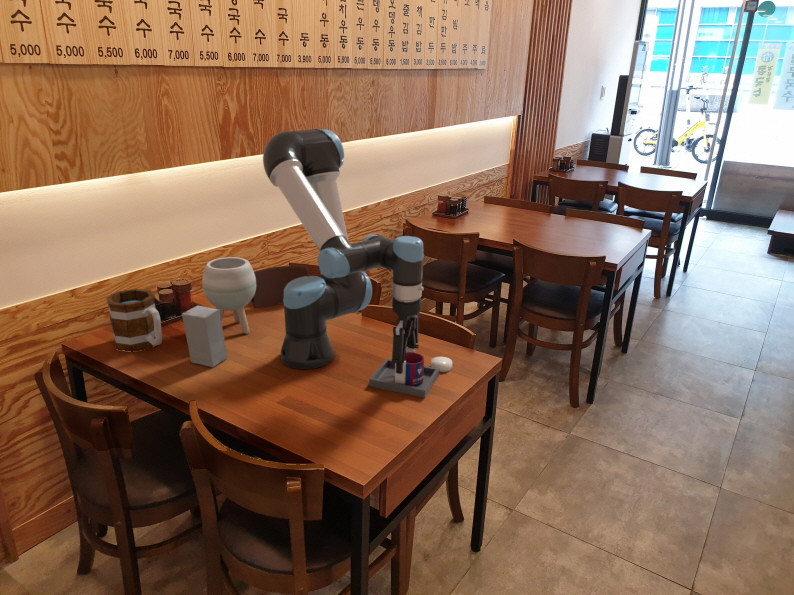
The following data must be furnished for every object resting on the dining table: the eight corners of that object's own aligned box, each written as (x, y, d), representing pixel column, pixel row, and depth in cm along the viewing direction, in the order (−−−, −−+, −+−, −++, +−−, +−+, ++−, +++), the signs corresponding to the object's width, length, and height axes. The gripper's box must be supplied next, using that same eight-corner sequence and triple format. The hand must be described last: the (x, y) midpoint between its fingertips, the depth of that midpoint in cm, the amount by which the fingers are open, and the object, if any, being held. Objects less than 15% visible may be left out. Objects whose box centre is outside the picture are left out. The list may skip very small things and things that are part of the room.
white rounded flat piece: (428, 370, 164) (428, 364, 164) (434, 361, 170) (434, 355, 169) (448, 374, 162) (449, 368, 162) (454, 365, 168) (454, 358, 167)
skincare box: (227, 359, 168) (222, 308, 162) (210, 369, 162) (204, 317, 156) (205, 353, 171) (199, 303, 165) (187, 363, 165) (180, 311, 159)
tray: (369, 386, 155) (369, 379, 154) (386, 365, 166) (386, 358, 165) (424, 398, 150) (425, 390, 149) (438, 375, 161) (439, 368, 160)
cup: (409, 389, 153) (410, 366, 150) (385, 374, 160) (386, 352, 157) (428, 381, 157) (429, 358, 154) (404, 367, 164) (404, 345, 161)
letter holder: (309, 301, 211) (307, 264, 206) (254, 308, 203) (251, 270, 198) (302, 291, 219) (300, 256, 214) (248, 298, 212) (246, 262, 207)
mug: (104, 344, 175) (95, 298, 170) (145, 329, 185) (138, 285, 180) (141, 363, 165) (134, 314, 159) (183, 346, 175) (177, 300, 169)
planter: (242, 315, 197) (236, 252, 189) (269, 329, 187) (264, 263, 179) (198, 328, 186) (190, 262, 178) (224, 345, 176) (217, 275, 168)
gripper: (408, 313, 139) (405, 396, 148) (432, 286, 156) (429, 362, 165) (378, 308, 142) (378, 390, 150) (406, 283, 159) (404, 358, 167)
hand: (404, 376), depth 157 cm, fingers open, 7 cm apart
